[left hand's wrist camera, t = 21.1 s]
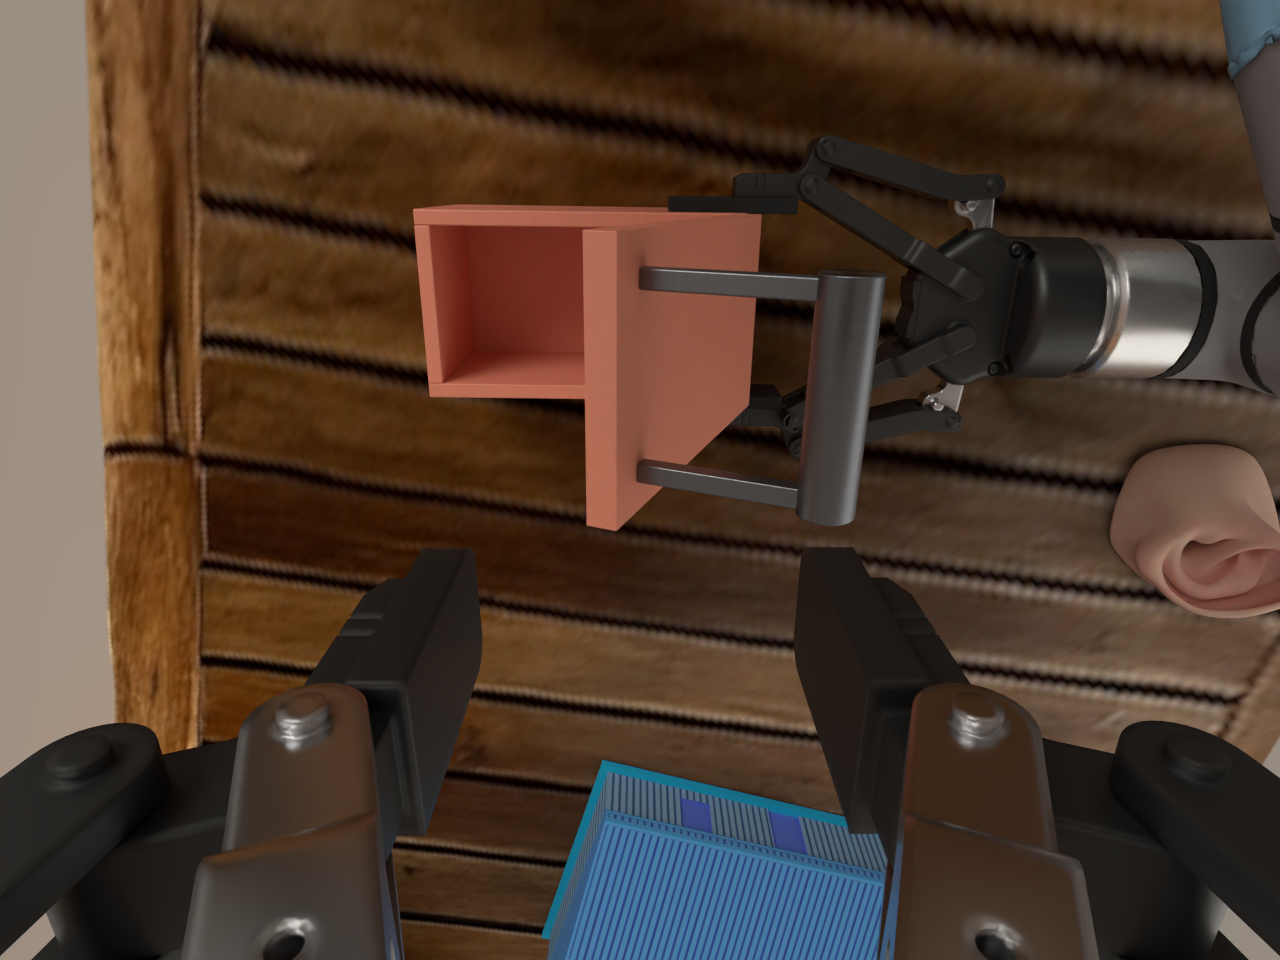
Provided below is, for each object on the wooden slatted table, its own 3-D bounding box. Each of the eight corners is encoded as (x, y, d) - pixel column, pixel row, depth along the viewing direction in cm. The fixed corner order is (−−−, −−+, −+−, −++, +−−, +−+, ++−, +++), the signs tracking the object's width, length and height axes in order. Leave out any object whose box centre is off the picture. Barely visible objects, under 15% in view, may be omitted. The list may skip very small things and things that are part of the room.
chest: (466, 359, 50) (429, 397, 41) (455, 204, 46) (412, 208, 37) (720, 363, 50) (737, 401, 41) (728, 208, 46) (748, 213, 37)
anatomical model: (1133, 487, 48) (1322, 430, 47) (1098, 466, 52) (1272, 412, 51) (1154, 652, 53) (1326, 604, 51) (1120, 621, 57) (1280, 576, 55)
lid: (586, 525, 26) (841, 575, 23) (582, 229, 22) (883, 241, 19) (728, 402, 40) (894, 422, 37) (739, 213, 37) (923, 218, 34)
